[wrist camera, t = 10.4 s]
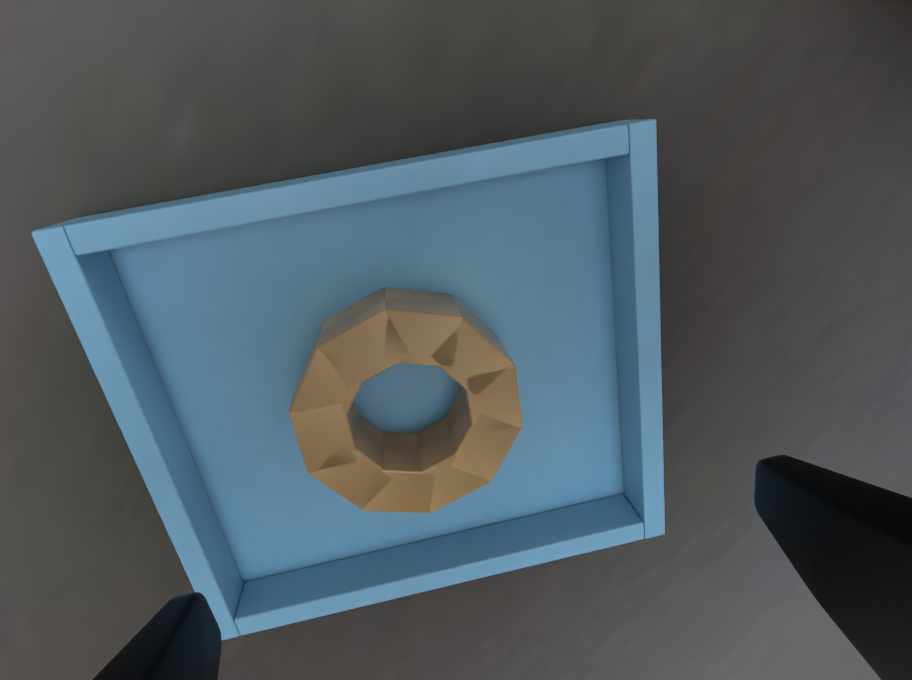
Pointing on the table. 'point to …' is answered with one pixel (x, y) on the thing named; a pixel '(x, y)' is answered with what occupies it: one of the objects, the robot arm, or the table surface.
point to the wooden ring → (405, 454)
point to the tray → (395, 389)
